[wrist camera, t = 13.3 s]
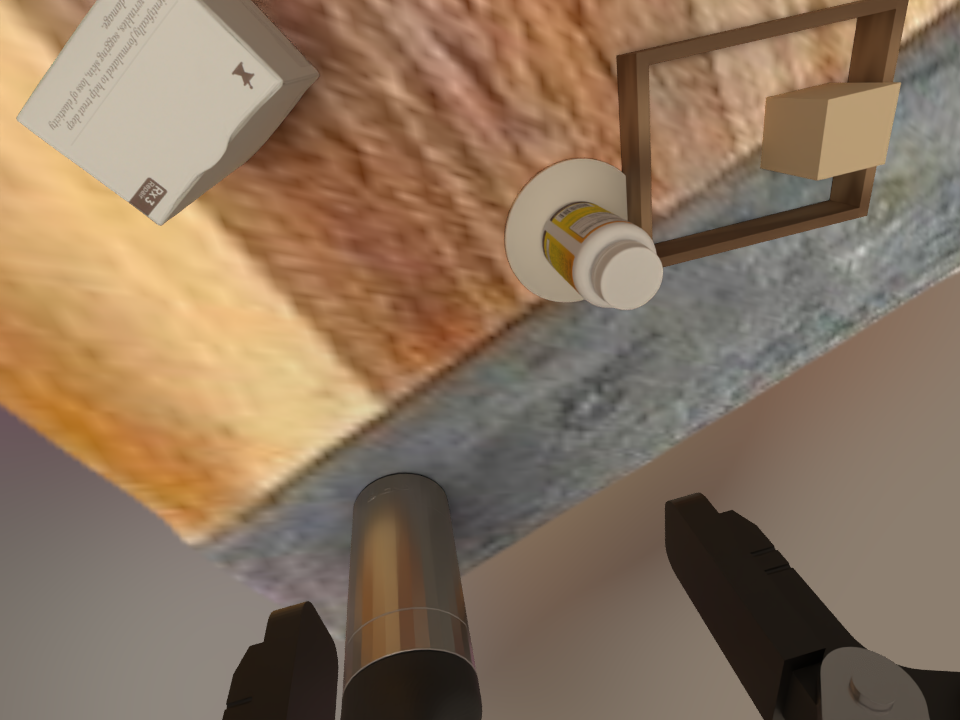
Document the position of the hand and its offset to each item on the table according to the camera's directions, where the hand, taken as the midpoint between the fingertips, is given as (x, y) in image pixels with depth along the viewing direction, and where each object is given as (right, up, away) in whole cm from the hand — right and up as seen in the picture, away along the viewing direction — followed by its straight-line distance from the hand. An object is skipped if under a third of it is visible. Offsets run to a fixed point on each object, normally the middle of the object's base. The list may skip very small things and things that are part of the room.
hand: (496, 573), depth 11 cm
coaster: (+7, +15, +28) cm, 33 cm away
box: (+24, +23, +27) cm, 43 cm away
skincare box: (-15, +22, +20) cm, 33 cm away
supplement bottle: (+7, +14, +28) cm, 32 cm away
